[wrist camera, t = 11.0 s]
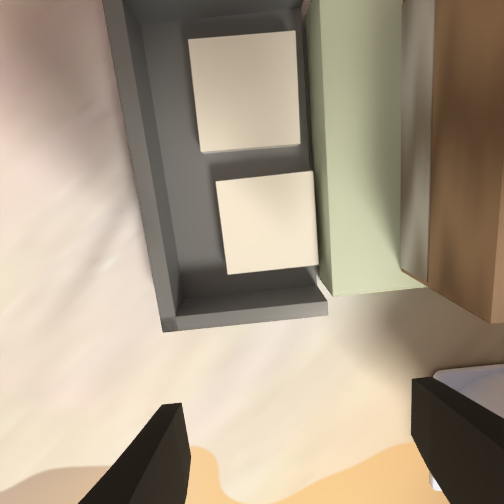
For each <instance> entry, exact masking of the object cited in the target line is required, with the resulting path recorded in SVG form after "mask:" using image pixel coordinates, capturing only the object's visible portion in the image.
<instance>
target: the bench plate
mask: <svg viewBox="0 0 504 504" xmlns="http://www.w3.org/2000/svg"><path fill="white" fill-rule="evenodd" d="M402 4H403V0H311V3H310V5H309V8H308V11H307V13H306V16H305V23H306V42H307V60H308V78H309V96H310V114H311V132H312V150H313V169H314V187H315V205H316V223H317V241H318V259H319V277H320V280H321V281H322V283H323V284H324V285H325V287H326V288H327V290H328V291H329V292H330V294H331V295H332V296H333V297H337V296H347V295H356V294H366V293H375V292H385V291H395V290H404V289H414V288H424V287H427V286H425V285H424V284H422V283H420V282H419V281H417V280H415V279H414V278H412V277H410V276H409V275H407V274H405V273H404V272H402V271H401V268H400V204H401V47H402Z"/></svg>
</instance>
